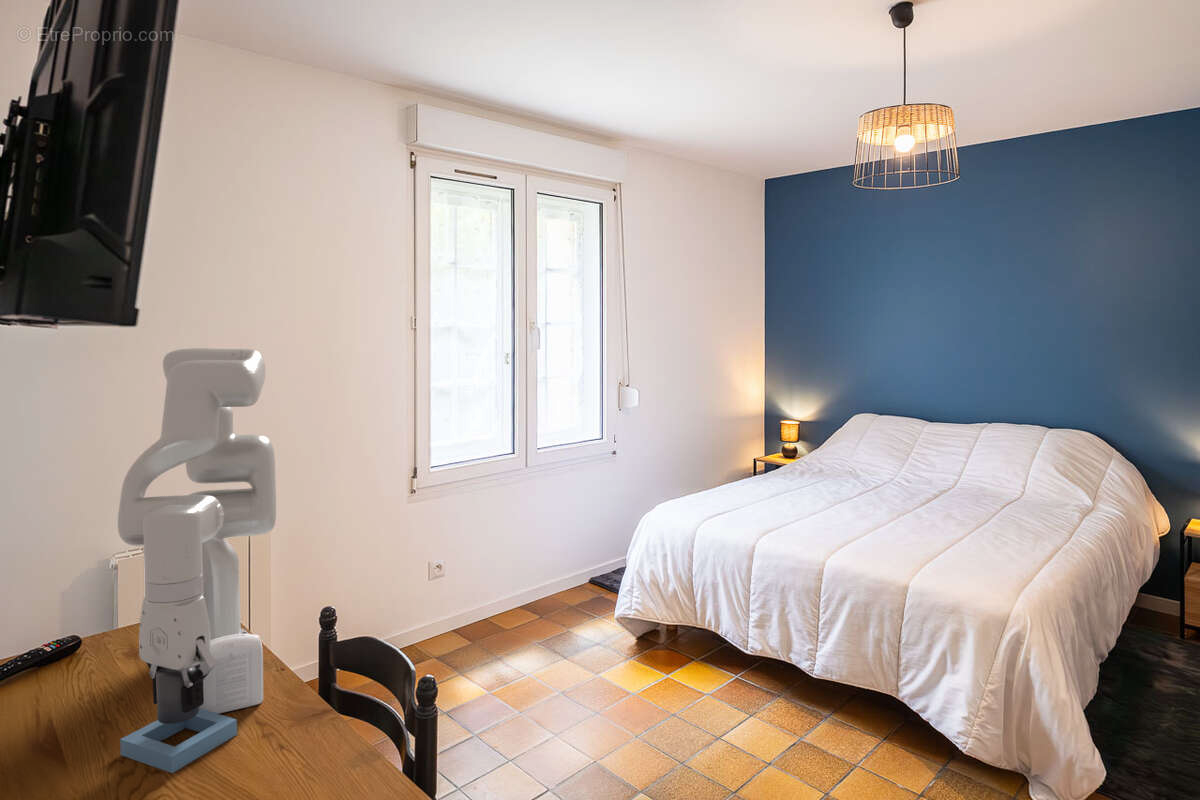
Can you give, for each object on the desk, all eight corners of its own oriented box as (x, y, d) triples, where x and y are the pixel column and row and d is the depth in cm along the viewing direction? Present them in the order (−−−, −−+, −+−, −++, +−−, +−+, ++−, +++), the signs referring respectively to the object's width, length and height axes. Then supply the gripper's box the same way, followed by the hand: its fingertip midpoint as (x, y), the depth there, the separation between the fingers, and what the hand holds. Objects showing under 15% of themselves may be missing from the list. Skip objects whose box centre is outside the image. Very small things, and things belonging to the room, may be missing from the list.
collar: (120, 755, 108) (120, 739, 107) (187, 719, 118) (187, 704, 117) (172, 773, 103) (171, 756, 103) (237, 734, 114) (236, 719, 113)
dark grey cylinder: (148, 719, 108) (147, 674, 108) (182, 702, 113) (180, 659, 113) (174, 727, 106) (172, 681, 106) (207, 709, 111) (206, 665, 111)
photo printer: (261, 693, 126) (260, 625, 125) (265, 704, 123) (264, 634, 122) (194, 709, 121) (192, 638, 120) (197, 721, 117) (194, 648, 116)
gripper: (111, 588, 108) (116, 704, 109) (192, 605, 102) (196, 728, 103) (159, 573, 115) (162, 683, 116) (237, 588, 109) (240, 704, 110)
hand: (178, 703), depth 110 cm, fingers closed on dark grey cylinder, 5 cm apart
